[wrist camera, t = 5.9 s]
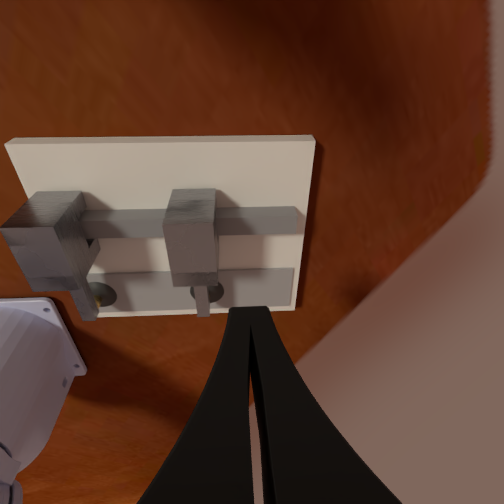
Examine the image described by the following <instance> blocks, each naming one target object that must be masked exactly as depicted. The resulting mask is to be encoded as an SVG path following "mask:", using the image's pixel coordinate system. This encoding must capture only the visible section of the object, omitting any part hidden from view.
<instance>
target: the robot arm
mask: <svg viewBox="0 0 504 504" xmlns="http://www.w3.org/2000/svg"><path fill="white" fill-rule="evenodd" d="M86 372H87V368H86V366H85V364H84V362H83V360H82V358H81V356H80V354H79V352H78V350H77V348H76V346H75V344H74V342H73V340H72V338H71V336H70V334H69V332H68V330H67V328H66V326H65V324H64V322H63V320H62V318H61V316H60V314H59V312H58V310H57V308H56V306H55V304H54V302H53V301H52V300H51V299H50V298H46V297H40V298H10V299H0V504H22V499H23V493H22V487H21V484H20V483H19V482H18V481H16V480H14V479H15V477H16V474H17V473H18V472H20V471H21V470H23V469H24V468H25V467H27V466H28V465H29V464H30V463H31V462H32V461H33V460H34V459H35V458H36V457H37V456H38V455H39V453H40V452H41V451H42V450H43V448H44V447H45V445H46V443H47V441H48V439H49V437H50V435H51V432H52V430H53V428H54V425H55V423H56V420H57V418H58V415H59V413H60V411H61V408H62V406H63V403H64V401H65V398H66V396H67V394H68V391H69V389H70V386H71V384H72V382H73V379H74V377H75V376H82V375H85V374H86ZM250 374H251V381H252V388H253V395H254V402H255V409H256V416H257V423H258V430H259V438H260V449H261V464H262V482H263V498H264V504H402V503H401V502H400V500H399V499H398V498H397V497H396V496H395V495H394V494H393V493H392V492H391V491H390V490H389V489H388V488H387V487H386V486H385V485H384V484H383V482H381V480H380V479H379V478H378V477H377V476H376V475H375V474H374V473H373V472H372V470H371V469H370V468H369V467H368V466H367V465H366V464H365V462H364V461H363V460H362V459H361V458H360V457H359V456H358V454H357V453H356V452H355V451H354V450H353V448H352V447H351V446H350V445H349V443H348V442H347V441H346V440H345V438H344V437H343V436H342V435H341V433H340V432H339V431H338V430H337V428H336V427H335V426H334V425H333V423H332V422H331V421H330V419H329V418H328V417H327V415H326V414H325V412H324V411H323V410H322V408H321V407H320V405H319V404H318V402H317V401H316V399H315V398H314V397H313V395H312V394H311V392H310V390H309V389H308V388H307V386H306V384H305V383H304V381H303V379H302V378H301V376H300V374H299V373H298V371H297V369H296V367H295V366H294V364H293V362H292V360H291V358H290V356H289V354H288V353H287V351H286V349H285V347H284V345H283V343H282V341H281V339H280V336H279V334H278V332H277V329H276V327H275V325H274V322H273V319H272V316H271V314H270V310H269V308H268V307H267V306H245V307H231V308H230V309H229V311H228V319H227V324H226V329H225V333H224V336H223V340H222V343H221V346H220V349H219V352H218V355H217V358H216V361H215V363H214V366H213V368H212V371H211V373H210V375H209V378H208V380H207V383H206V385H205V387H204V390H203V392H202V394H201V396H200V398H199V400H198V402H197V404H196V406H195V408H194V410H193V412H192V414H191V416H190V418H189V420H188V422H187V424H186V426H185V427H184V429H183V431H182V433H181V435H180V436H179V438H178V440H177V442H176V443H175V445H174V447H173V448H172V450H171V452H170V453H169V455H168V457H167V458H166V460H165V461H164V463H163V465H162V466H161V468H160V469H159V471H158V473H157V474H156V476H155V477H154V479H153V480H152V482H151V484H150V485H149V486H148V488H147V489H146V491H145V492H144V494H143V495H142V497H141V498H140V500H139V501H138V502H137V504H254V493H253V478H252V461H251V445H250V426H249V385H250Z"/></svg>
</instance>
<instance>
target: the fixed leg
mask: <svg viewBox="0 0 504 504" xmlns="http://www.w3.org/2000/svg"><path fill="white" fill-rule="evenodd" d="M86 207H87V206H86V203H85V200H84V197H83V194H82V191H37V192H35V193H34V194H33V195H32V196H31V197H30V198H29V199H28V200H27V201H26V202H25V203H24V204H23V205H22V206H21V207H20V208H19V209H18V210H17V211H16V212H15V213H14V214H13V215H12V216H11V217H10V218H9V219H8V220H7V221H6V222H5V223H4V224H3V225H2V226H1V227H0V231H1V233H2V234H3V236H4V238H5V240H6V242H7V244H8V246H9V247H10V249H11V251H12V253H13V255H14V257H15V259H16V260H17V262H18V264H19V266H20V268H21V270H22V272H23V273H24V275H25V277H26V279H27V281H28V283H29V285H30V286H31V288H32V290H33V292H36V291H68V290H69V291H70V293H71V295H72V298H73V300H74V302H75V304H76V307H77V309H78V311H79V313H80V315H81V318H82V320H83V321H96V318H97V316H98V314H99V307H100V305H101V303H102V300H103V299H102V297H101V296H99V295H94V296H93V294H92V291H91V289H90V286H89V283H88V281H87V278H86V277H87V275H88V273H89V271H90V269H91V267H92V265H93V263H94V261H95V259H96V257H97V255H98V254H99V252H100V250H101V248H100V245H99V242H98V239H86V238H85V235H84V232H83V230H82V227H81V224H80V221H79V217H80V216H81V214H82V213H83V211H84V210H85V208H86Z"/></svg>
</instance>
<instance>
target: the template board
mask: <svg viewBox="0 0 504 504" xmlns="http://www.w3.org/2000/svg"><path fill="white" fill-rule="evenodd" d="M315 142H316V141H315V139H314V138H313V136H312V135H260V136H157V137H53V138H13V139H12V140H10V141H9V142H7V143H5V144H4V145H5V147H6V150H7V152H8V154H9V156H10V158H11V161H12V163H13V165H14V167H15V170H16V172H17V174H18V176H19V179H20V181H21V183H22V185H23V188H24V190H25V192H26V194H27V197H28V199H29V198H30V197H31V196H32V195H33V194H34V193H35V192H37V191H82V194H83V197H84V200H85V203H86V206H87V207H86V208H85V210H84V211H83V213H82V214H81V216H80V217H79V221H80V224H81V227H82V230H83V232H84V235H85V238H86V239H98V242H99V245H100V248H101V250H100V252H99V254H98V255H97V257H96V259H95V261H94V263H93V265H92V267H91V269H90V271H89V273H88V275H87V277H86V278H87V281H88V283H89V286H90V289H91V291H92V294H93V296H94V295H99V296H101V297H102V299H103V300H102V303H101V305H100V307H99V314H98V316H97V317H118V316H146V315H174V314H197V309H196V301H195V294H194V287H173V282H172V277H171V271H170V266H169V260H168V255H167V249H166V244H165V239H164V233H163V228H162V223H163V219H164V216H165V213H166V209H167V206H168V203H169V199H170V196H171V193H172V190H173V189H205V188H216V200H217V209H216V222H217V236H219V269H218V286H208V289H209V294H210V313H228V311H229V309H230V308H231V307H245V306H267V307H268V308H269V310H270V311H286V310H295V304H296V296H297V287H298V279H299V271H300V263H301V255H302V247H303V239H304V231H305V223H306V215H307V207H308V199H309V191H310V183H311V175H312V167H313V159H314V151H315Z"/></svg>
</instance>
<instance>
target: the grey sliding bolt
mask: <svg viewBox="0 0 504 504" xmlns="http://www.w3.org/2000/svg"><path fill="white" fill-rule="evenodd" d="M216 209H217V200H216V188H205V189H173V190H172V193H171V196H170V199H169V203H168V206H167V209H166V213H165V216H164V219H163V223H162V228H163V233H164V239H165V244H166V249H167V255H168V260H169V266H170V271H171V277H172V282H173V287H194V294H195V301H196V309H197V316H198V317H208V316H210V294H209V289H208V286H218V269H219V236H217V222H216Z"/></svg>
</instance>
